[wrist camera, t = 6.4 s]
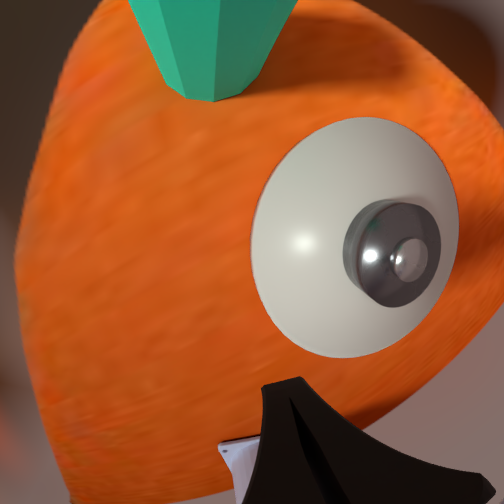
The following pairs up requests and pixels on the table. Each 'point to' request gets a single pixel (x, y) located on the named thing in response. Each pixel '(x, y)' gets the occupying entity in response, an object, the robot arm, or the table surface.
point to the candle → (211, 41)
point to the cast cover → (392, 251)
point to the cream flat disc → (344, 233)
